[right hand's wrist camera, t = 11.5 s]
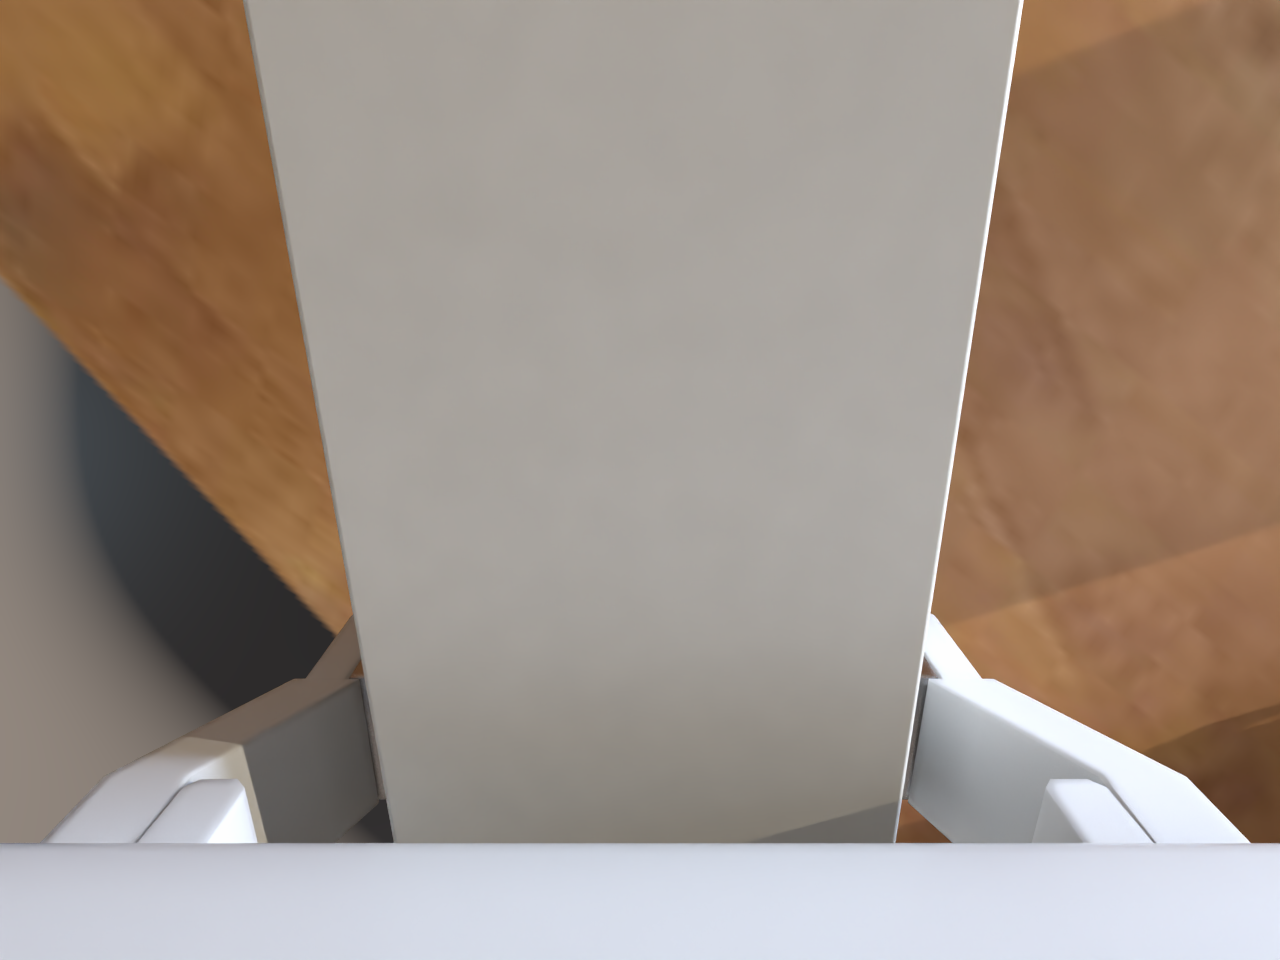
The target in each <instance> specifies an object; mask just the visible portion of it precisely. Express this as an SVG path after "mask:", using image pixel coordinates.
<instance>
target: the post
mask: <svg viewBox="0 0 1280 960" xmlns="http://www.w3.org/2000/svg"><path fill="white" fill-rule="evenodd" d="M243 3H244V9H245V14H246V20H247V25H248V31H249V37H250V42H251V48H252V53H253V59H254V64H255V70H256V76H257V81H258V87H259V92H260V98H261V103H262V109H263V115H264V120H265V126H266V131H267V137H268V142H269V148H270V154H271V159H272V165H273V170H274V176H275V181H276V187H277V193H278V198H279V204H280V209H281V215H282V220H283V226H284V232H285V237H286V243H287V248H288V254H289V259H290V265H291V271H292V276H293V282H294V287H295V293H296V298H297V304H298V310H299V315H300V321H301V326H302V332H303V337H304V343H305V349H306V354H307V360H308V365H309V371H310V377H311V382H312V388H313V393H314V399H315V404H316V410H317V416H318V421H319V427H320V432H321V438H322V443H323V449H324V455H325V460H326V466H327V471H328V477H329V482H330V488H331V494H332V499H333V505H334V510H335V516H336V521H337V527H338V533H339V538H340V544H341V549H342V555H343V560H344V566H345V572H346V577H347V583H348V588H349V594H350V599H351V605H352V611H353V616H354V622H355V627H356V633H357V638H358V644H359V650H360V655H361V661H362V666H363V672H364V677H365V683H366V689H367V694H368V700H369V705H370V711H371V716H372V722H373V728H374V733H375V739H376V744H377V750H378V755H379V761H380V767H381V772H382V778H383V783H384V789H385V794H386V800H387V806H388V811H389V817H390V822H391V828H392V833H393V839H394V843H895V842H896V835H897V828H898V822H899V815H900V809H901V802H902V796H903V789H904V782H905V776H906V769H907V763H908V756H909V750H910V743H911V736H912V730H913V723H914V717H915V710H916V704H917V697H918V690H919V684H920V677H921V671H922V664H923V658H924V651H925V644H926V638H927V631H928V625H929V618H930V612H931V605H932V598H933V592H934V585H935V579H936V572H937V565H938V559H939V552H940V546H941V539H942V533H943V526H944V519H945V513H946V506H947V500H948V493H949V487H950V480H951V473H952V467H953V460H954V454H955V447H956V441H957V434H958V427H959V421H960V414H961V408H962V401H963V395H964V388H965V381H966V375H967V368H968V362H969V355H970V349H971V342H972V335H973V329H974V322H975V316H976V309H977V302H978V296H979V289H980V283H981V276H982V270H983V263H984V256H985V250H986V243H987V237H988V230H989V224H990V217H991V210H992V204H993V197H994V191H995V184H996V178H997V171H998V164H999V158H1000V151H1001V145H1002V138H1003V132H1004V125H1005V118H1006V112H1007V105H1008V99H1009V92H1010V86H1011V79H1012V72H1013V66H1014V59H1015V53H1016V46H1017V40H1018V33H1019V26H1020V20H1021V13H1022V7H1023V0H243Z"/></svg>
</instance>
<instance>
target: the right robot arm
mask: <svg viewBox="0 0 1280 960" xmlns="http://www.w3.org/2000/svg"><path fill="white" fill-rule="evenodd" d="M378 799H386V794H385V789H384V783H383V778H382V772H381V767H380V761H379V755H378V750H377V744H376V739H375V733H374V728H373V722H372V716H371V711H370V705H369V700H368V694H367V689H366V683H365V677H364V672H363V666H362V661H361V655H360V650H359V644H358V638H357V633H356V627H355V622H354V616H353V615H352V616H351V617H350V618H349V620H348V621H347V623H346V624H345V625H344V627H343V628H342V629H341V631H340V632H339V634H338V635H337V636H336V638H335V639H334V640H333V642H332V643H331V645H330V646H329V647H328V649H327V650H326V651H325V653H324V654H323V655H322V657H321V658H320V660H319V661H318V662H317V664H316V665H315V666H314V668H313V669H312V671H311V672H310V673H309V675H308V676H307V678H306V679H293V680H291V681H289V682H287V683H285V684H283V685H281V686H279V687H277V688H275V689H273V690H272V691H270V692H268V693H266V694H264V695H262V696H260V697H258V698H256V699H254V700H252V701H250V702H248V703H246V704H244V705H242V706H240V707H238V708H236V709H234V710H232V711H230V712H228V713H226V714H224V715H223V716H221V717H219V718H217V719H215V720H213V721H211V722H209V723H207V724H205V725H203V726H201V727H199V728H197V729H195V730H193V731H191V732H189V733H187V734H185V735H183V736H182V737H180V738H178V739H176V740H174V741H172V742H170V743H168V744H166V745H164V746H162V747H160V748H158V749H156V750H154V751H152V752H150V753H148V754H146V755H144V756H142V757H140V758H138V759H136V760H134V761H132V762H131V763H129V764H127V765H125V766H123V767H121V768H119V769H117V770H115V771H113V772H111V773H109V774H107V775H105V776H104V777H103V778H102V779H101V780H100V781H99V782H98V783H97V784H96V785H95V786H94V787H93V788H92V789H91V790H90V791H89V792H88V793H87V794H86V795H85V797H84V798H83V799H82V800H81V801H80V802H79V803H78V804H77V805H76V806H75V807H74V808H73V809H72V810H71V811H70V812H69V813H68V814H67V815H66V816H65V817H64V818H63V819H62V820H61V821H60V822H59V824H58V825H57V826H56V827H55V828H54V829H53V830H52V831H51V832H50V833H49V834H48V835H47V836H46V837H45V838H44V839H43V840H42V841H41V842H40V843H0V960H1280V843H1250V842H1249V841H1248V840H1247V839H1246V838H1245V837H1244V836H1243V835H1242V834H1241V832H1240V831H1239V830H1238V829H1237V828H1236V827H1235V826H1234V825H1233V824H1232V823H1231V822H1230V821H1229V820H1228V819H1227V818H1226V817H1225V816H1224V815H1223V814H1222V813H1221V812H1220V811H1219V810H1218V809H1217V808H1216V807H1215V806H1214V805H1213V804H1212V803H1211V802H1210V801H1209V800H1208V799H1207V797H1206V796H1205V795H1204V794H1203V793H1202V792H1201V791H1200V790H1199V789H1198V788H1197V787H1196V786H1195V785H1194V784H1193V783H1192V782H1191V781H1190V780H1189V779H1188V778H1187V777H1186V776H1184V775H1182V774H1180V773H1178V772H1176V771H1174V770H1172V769H1170V768H1168V767H1166V766H1164V765H1162V764H1160V763H1158V762H1156V761H1154V760H1152V759H1150V758H1148V757H1146V756H1144V755H1142V754H1140V753H1138V752H1136V751H1134V750H1132V749H1130V748H1128V747H1126V746H1124V745H1123V744H1121V743H1119V742H1117V741H1115V740H1113V739H1111V738H1109V737H1107V736H1105V735H1103V734H1101V733H1099V732H1097V731H1095V730H1093V729H1091V728H1089V727H1087V726H1085V725H1083V724H1081V723H1079V722H1077V721H1075V720H1073V719H1071V718H1069V717H1067V716H1065V715H1063V714H1061V713H1059V712H1058V711H1056V710H1054V709H1052V708H1050V707H1048V706H1046V705H1044V704H1042V703H1040V702H1038V701H1036V700H1034V699H1032V698H1030V697H1028V696H1026V695H1024V694H1022V693H1020V692H1018V691H1016V690H1014V689H1012V688H1010V687H1008V686H1006V685H1004V684H1002V683H1000V682H998V681H996V680H994V679H982V678H981V677H980V676H979V674H978V673H977V672H976V670H975V669H974V668H973V666H972V665H971V664H970V662H969V661H968V660H967V658H966V657H965V656H964V654H963V653H962V652H961V650H960V649H959V648H958V646H957V645H956V644H955V642H954V641H953V640H952V638H951V637H950V636H949V634H948V633H947V632H946V630H945V629H944V628H943V626H942V625H941V624H940V622H939V621H938V620H937V618H936V617H935V616H934V615H933V614H930V618H929V625H928V631H927V638H926V644H925V651H924V658H923V664H922V671H921V677H920V684H919V690H918V697H917V704H916V710H915V717H914V723H913V730H912V736H911V743H910V750H909V756H908V763H907V769H906V776H905V782H904V789H903V796H902V799H908V803H909V804H910V805H911V806H913V807H914V808H915V809H916V810H917V811H918V812H919V813H920V814H921V815H923V816H924V817H925V818H926V819H927V820H928V821H929V822H930V823H931V824H932V825H934V826H935V827H936V828H937V829H938V830H939V831H940V832H941V833H942V834H943V835H945V836H946V837H947V838H948V839H949V840H950V841H951V842H952V843H335V842H337V841H338V840H339V839H340V838H341V837H342V836H343V835H344V834H345V833H346V832H347V831H349V830H350V829H351V828H352V827H353V826H354V825H355V824H356V823H357V822H358V821H359V820H361V819H362V818H363V817H364V816H365V815H366V814H367V813H368V812H369V811H370V810H372V809H373V808H374V807H375V806H376V805H377V804H378V803H379V801H378Z"/></svg>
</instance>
